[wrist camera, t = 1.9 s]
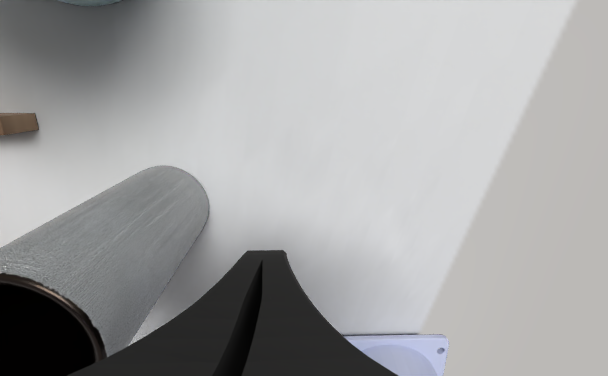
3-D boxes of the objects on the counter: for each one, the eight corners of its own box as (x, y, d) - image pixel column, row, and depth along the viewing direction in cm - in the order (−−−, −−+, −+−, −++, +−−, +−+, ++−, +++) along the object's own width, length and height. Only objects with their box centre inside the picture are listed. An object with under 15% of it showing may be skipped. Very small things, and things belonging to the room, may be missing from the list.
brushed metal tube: (122, 162, 17) (-124, 269, 7) (208, 166, 17) (92, 276, 7) (130, 239, 18) (-64, 421, 8) (211, 242, 18) (116, 423, 8)
